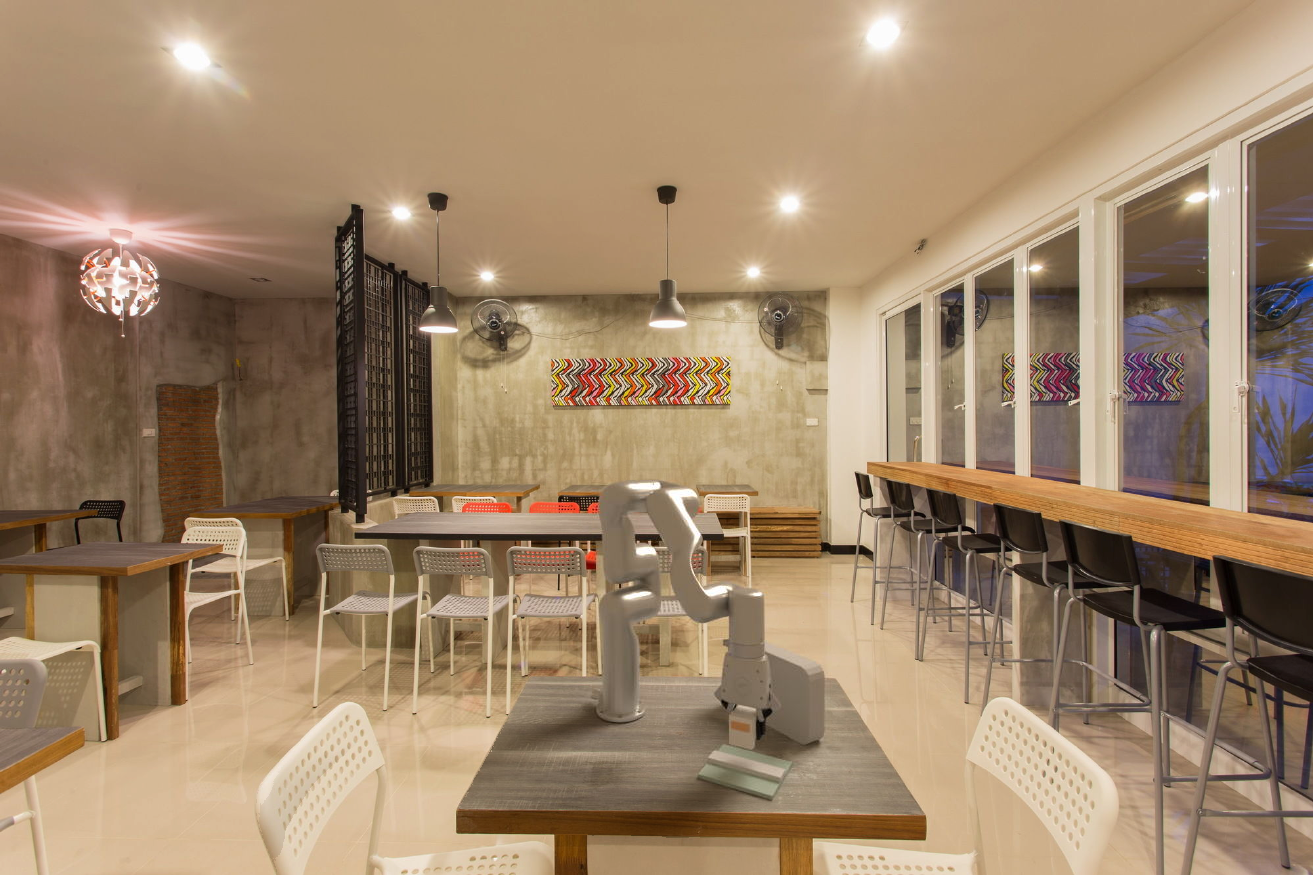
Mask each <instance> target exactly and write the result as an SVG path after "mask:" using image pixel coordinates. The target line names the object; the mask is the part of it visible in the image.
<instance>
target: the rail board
mask: <svg viewBox="0 0 1313 875" xmlns="http://www.w3.org/2000/svg"><path fill="white" fill-rule="evenodd" d="M792 767H793V761H790V760H786V759H782V758H778V757H773V756H769V755H766V754H764V753H759V752H755V751H752V750H749V749H745V748H741V747H738V746H734V745H730V744H729V745H728V744H724V743H723V744H722V745H721V746H720V747H719V749H718V750H713V751H712V752H711V753H710V755H709V756H708V757H707V763H706V764H705V765H704V767H702V769H701V770H700V771H699V772H698V773H697V778H698V779H700V780H703V781H707V782H710V783H715V784H716V785H717V784H718V785H720V786H724V787H726V788H731V789H735V790H737V791H742V792H745V793H747V794H751V795H754V796H758V797H762V798H765V799H766V800H767V799H769V800H771V801H773V800H774V798H775V797H776V795H777V793H778V791H779V790H780V789H781V786H782V784H783V783H784V781H785V779H786V778H787V776H788V774H789V772H790V770H791V769H792Z"/></svg>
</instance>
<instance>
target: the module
mask: <svg viewBox="0 0 1313 875" xmlns="http://www.w3.org/2000/svg"><path fill="white" fill-rule="evenodd" d="M757 720H758V716H757V712H756V708H751V707H746V706H741V705H738V706H737V707H736V708H735V709H734V710H733V711H732V712H731V714H730V715H729V714H728V744H729V745H730V746H734V747H738V748H742V749H746V750H750V751H752V750H753V749H754V748H755V747H756V740H757V739H756V721H757Z"/></svg>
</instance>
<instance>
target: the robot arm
mask: <svg viewBox="0 0 1313 875" xmlns="http://www.w3.org/2000/svg"><path fill="white" fill-rule="evenodd" d="M597 503H598V504H597V510H598V517H599V520H600V526H601V533H602V534H601V538H602V539H601V541H602V566H603V574H604V577H605V579H606V580H607V582H608V583H610V584H613V585H622V584H626V583H631V582H632V583H633V585H629V586H625V587H621V588H617V589H612V590H610V591H609V592H607V593H605V594H604V595H603V596H602V597H601V598H600V601H599V603H598V615H599V619H600V620H599V621H600V626H601V635H602V641H601V642H602V689H601V688H598V687H593V688H592V690H591V695H590V698H591V700H597V702H598V704H597V706H596V708H595V710H596V711H595V712H596V715H597V716H598V717H599V718H601V719H602V720H603V721H607V722H611V723H612V722H613V723H628V722H633V721H636V720H638V719H640V718H641V717H643V716H644V715H645V713H646V705H645V703H644V702H643V701H641V699H640V640H639V637H638V635H637V633H636V632H635V630H634V626H633V625H635V624H638V623H640V622H644V621H647V620H651V619H653V618H654V617H655V616H657V615H658V614H659V612H660V611H661V606H662V580H661V563H660V562H661V561H660V557H659V554H658V552H657V551H656V549H655V548H654V547H653V546H652V545H651V544H648V543H647V542H638V543H636V531H635V528H634V524H633V522H632V520H631V519H630V517H629V516H628V515H634V514H644V513H645V514H646V513H647V515H648V516H649V519H650V521H651V522H652V524H653V527H654V528H655V529H656V531H657V533H658V535H659V536H660V538H661V540H662V542H663V544H664V546H665V547H666V549H667V550H668V552H669V554H670V562H669V579H670V585H671V589H672V591H673V594H674V595H675V597H676V599H677V601H678V603H679V604H680V606H681V608H682V610H683V611H684V612H685V614H686V615H687V617H689V619H691V620H692V621H693V622H695V623H698V624H707V623H710V622H714V621H716V620H719V619H722V618H727V617H728V638H727V639H725V638H724V639H722V645H723V646H725V647H727V651H726V652H725V654H724V657H723V661H722V662H723V664H722V671H721V680H720V681H721V683H720V685H719V687H718V688H716V690H715V691H714V693H713V695H714V696H715V697H716V699H717V700H718V701H719V702H720V703H721V705H722V706H723V708H724V709H725V710H726V714H727V715H728V716H729V715H730V714H731V712H732V711H733V710H734V709H735V708H736V707H737V705H741V706H746V707H751V708H756V712H757V716H758V720H757V721H756V739H755V740H756V741H761V740H762V738H763V737H764V736H765V735H766V732H767V725H766V718H767V717H768V716H770V715H771V714H772V713H774V712H775V711H777V710H779V709H780V708H781V706H782V705H781V703H780V701H779V700H778V699H777V697H776V696H775V694H774V693H773V691H772V681H771V672H770V666H769V661H768V657H767V655H765V642H766V640H765V639H766V638H765V637H766V636H765V633H766V632H765V630H766V629H765V596H764V594H763V592H762V591H760V590H759V589H756V588H752V587H744V586H742V585H739V584H737V583H735V582H732V581H728V580H723V581H719V582H718V581H717V582H713V583H710V584H705V585H701V584H700V582H699V580H698V579H697V576H696V575H695V573H694V570H693V565H692V559H693V558H692V557H693V554H694V553H695V552H696V551H697V550H698V549H699V548H700V547H701V545H702V543H703V535H702V534H701V532H700V530H699V528H698V527H697V525H696V524H695V522H694V520H693V519H694V518H695V517H696V516H697V515H698V513H699V511H700V508H701V507H700V505H701V503H700V499H699V496H698V495H697V494H696V492H695V491H694V490H693V489H692V488H691V487H689V486H685V485H684V484H683V485H681V484H678V483H674V482H669V481H665V480H663V479H662V480H660V479H655V478H654V479H651V478H649V479H637V480H636V479H635V480H633V479H632V480H622V481H615V482H613V483H610V484H609V485H607V486H606V487H604V488H603V490H602V492H600V494H599V498H598V502H597ZM769 701H770V702H771V704H772V705H771V706H769V707H768V708H767V709H766V706H767V705H768V702H769Z"/></svg>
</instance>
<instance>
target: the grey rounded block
mask: <svg viewBox="0 0 1313 875" xmlns="http://www.w3.org/2000/svg"><path fill="white" fill-rule="evenodd" d="M765 655H767V657H768V661H769V666H770V672H771V681H772V691H773V693H774V694H775V696H776V697H777V699H778V700H779V701H780V703H781V705H782V706H781V708H780V709H779V710H777V711H775V712H774V713H772V714H771V715H770V716H768V717H767V718H766V726H768V727H770V728H772V729H773V730H775V731H777V732H779V733H781V734H783V735H785V736H786V737H788V738H790V739H791V740H792V741H795V742H797V743H799V744H800V745H804V746H805V745H808V744H811V743H813V742H815V741H818V740H821V739H822V738H824V735H825V723H826V722H825V721H826V720H825V718H826V717H825V716H826V715H825V710H826V709H825V707H826V706H825V704H826V703H825V702H826V700H825V699H826V698H825V697H826V696H825V695H826V693H825V692H826V689H825V685H826V680H825V679H826V678H825V670H824V669H823V668H822V665H820V664H819V663H818V662H816V661H815V660H812V659H810V658H808V657H807V658H806V657H805V656H802V655H800V654H798V653H795V652H794V651H793V652H792V651H790V650H787V649H786V648H782V647H780V646H777V645H776V644H773V643H770V642H767V641H765ZM771 705H772V704H771V702H770V701H769V702H768V705H767V706H766V709H767V708H768V707H769V706H771ZM737 706H738V705H737Z"/></svg>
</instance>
